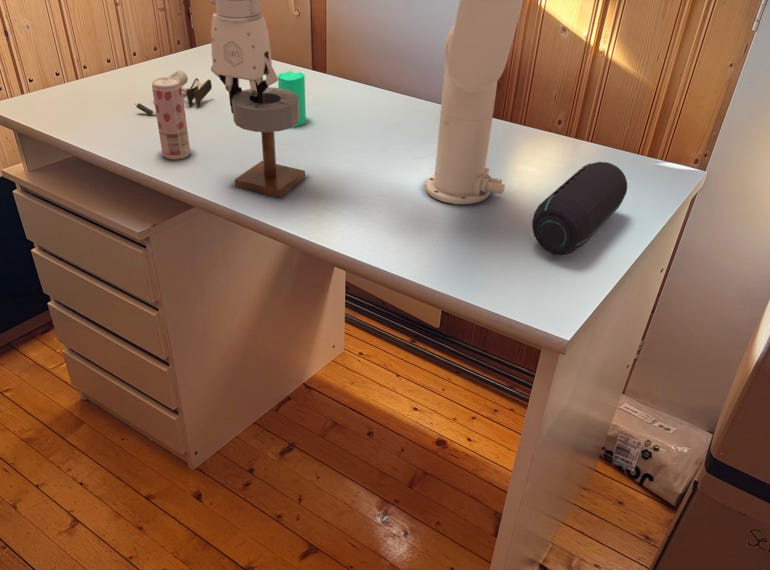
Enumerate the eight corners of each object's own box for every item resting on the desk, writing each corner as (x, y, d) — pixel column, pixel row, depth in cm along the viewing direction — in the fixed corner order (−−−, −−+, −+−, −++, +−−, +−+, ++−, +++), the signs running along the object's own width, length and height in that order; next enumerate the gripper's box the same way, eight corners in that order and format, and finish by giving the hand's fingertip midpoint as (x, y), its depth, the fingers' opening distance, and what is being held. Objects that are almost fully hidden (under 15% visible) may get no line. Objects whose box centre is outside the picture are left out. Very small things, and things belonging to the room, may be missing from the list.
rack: (305, 177, 142) (303, 110, 133) (279, 197, 135) (276, 127, 126) (262, 167, 145) (257, 101, 137) (235, 186, 138) (228, 117, 129)
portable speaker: (574, 199, 138) (586, 149, 132) (624, 213, 134) (639, 163, 127) (518, 251, 122) (528, 197, 115) (573, 270, 118) (587, 215, 111)
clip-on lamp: (170, 133, 165) (216, 94, 175) (163, 108, 160) (212, 70, 169) (131, 118, 169) (179, 81, 178) (123, 93, 163) (173, 57, 173)
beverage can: (180, 146, 152) (169, 74, 142) (196, 154, 149) (186, 81, 139) (157, 154, 149) (145, 80, 139) (173, 162, 146) (161, 88, 136)
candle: (311, 121, 165) (310, 68, 158) (292, 128, 162) (290, 74, 154) (293, 114, 168) (292, 62, 161) (274, 121, 165) (271, 67, 157)
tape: (310, 115, 135) (310, 93, 132) (278, 136, 126) (277, 114, 124) (256, 104, 138) (254, 83, 136) (221, 124, 130) (219, 102, 127)
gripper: (185, 5, 122) (198, 112, 133) (268, 18, 116) (275, 128, 128) (210, -4, 127) (221, 99, 138) (291, 8, 122) (295, 114, 133)
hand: (247, 112), depth 133 cm, fingers closed on tape, 3 cm apart
